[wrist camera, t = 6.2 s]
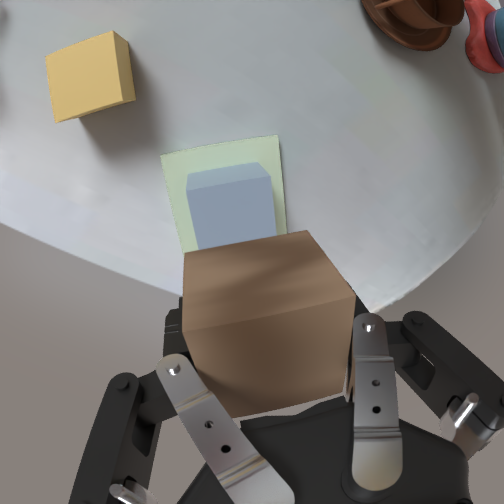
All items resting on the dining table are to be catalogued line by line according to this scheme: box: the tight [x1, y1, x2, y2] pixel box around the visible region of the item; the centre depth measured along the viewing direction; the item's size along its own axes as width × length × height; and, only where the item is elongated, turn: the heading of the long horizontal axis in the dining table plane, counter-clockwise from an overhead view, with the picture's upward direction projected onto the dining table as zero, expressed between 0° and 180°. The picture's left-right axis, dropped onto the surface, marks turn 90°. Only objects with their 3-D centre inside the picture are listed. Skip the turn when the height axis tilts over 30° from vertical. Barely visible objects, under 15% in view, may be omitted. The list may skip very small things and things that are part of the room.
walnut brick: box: [182, 230, 356, 418], centre depth 13 cm, size 6×6×5 cm
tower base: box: [160, 135, 287, 256], centre depth 25 cm, size 10×10×6 cm
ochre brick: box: [45, 31, 136, 123], centre depth 18 cm, size 6×6×5 cm
